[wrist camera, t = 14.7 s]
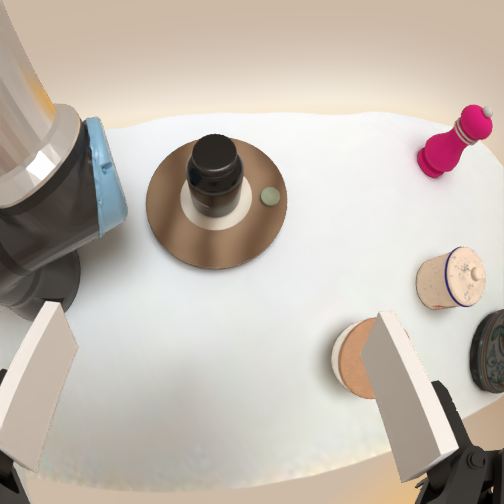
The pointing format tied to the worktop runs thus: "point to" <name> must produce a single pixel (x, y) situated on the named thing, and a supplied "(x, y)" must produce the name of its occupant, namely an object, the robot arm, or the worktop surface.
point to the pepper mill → (455, 141)
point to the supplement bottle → (215, 175)
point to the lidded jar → (353, 358)
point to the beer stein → (489, 353)
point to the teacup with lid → (452, 280)
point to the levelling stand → (222, 228)
